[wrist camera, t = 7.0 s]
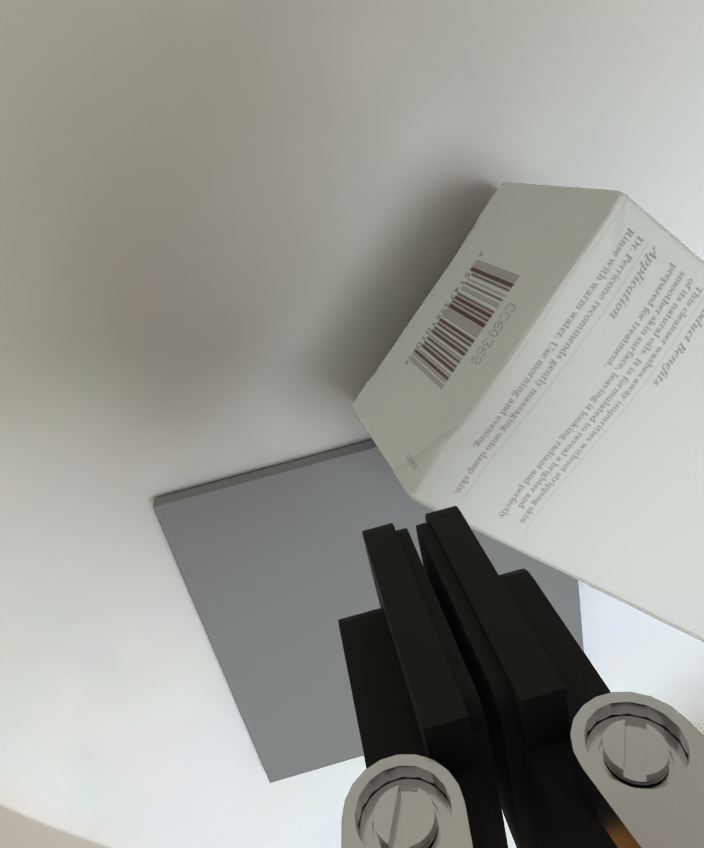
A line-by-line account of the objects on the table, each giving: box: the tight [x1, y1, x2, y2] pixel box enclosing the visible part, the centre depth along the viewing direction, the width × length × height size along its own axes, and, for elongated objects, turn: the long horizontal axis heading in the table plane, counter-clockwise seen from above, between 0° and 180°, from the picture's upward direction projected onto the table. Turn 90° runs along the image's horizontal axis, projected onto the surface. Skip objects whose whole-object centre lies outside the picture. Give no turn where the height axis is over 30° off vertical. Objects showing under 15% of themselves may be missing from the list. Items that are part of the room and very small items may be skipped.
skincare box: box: [352, 183, 704, 642], centre depth 19 cm, size 8×6×15 cm
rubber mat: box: [153, 440, 584, 783], centre depth 24 cm, size 14×14×1 cm
